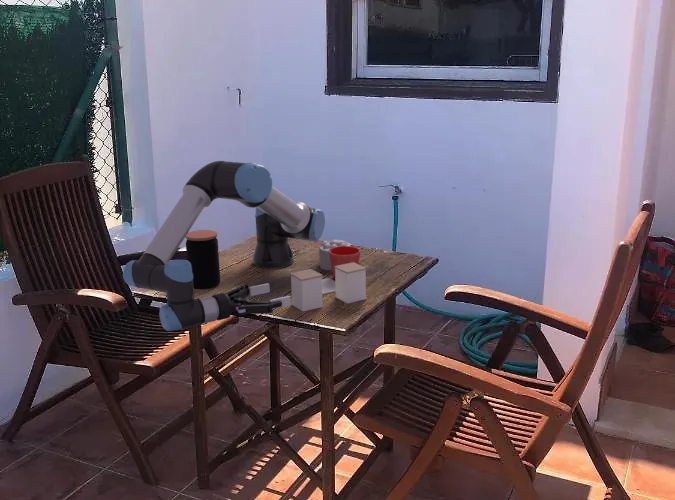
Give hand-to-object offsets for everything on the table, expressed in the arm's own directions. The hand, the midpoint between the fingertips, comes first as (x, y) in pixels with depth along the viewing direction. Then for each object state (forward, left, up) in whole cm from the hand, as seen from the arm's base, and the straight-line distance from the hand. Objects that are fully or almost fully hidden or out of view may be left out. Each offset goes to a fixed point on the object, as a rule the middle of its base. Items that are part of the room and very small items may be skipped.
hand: (279, 293), depth 221 cm
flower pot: (-17, +35, -6) cm, 39 cm away
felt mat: (-12, +23, -6) cm, 26 cm away
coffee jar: (-37, -9, -6) cm, 39 cm away
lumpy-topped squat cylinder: (-31, +39, -6) cm, 50 cm away
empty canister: (+2, +25, -6) cm, 25 cm away
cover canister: (0, +10, -6) cm, 11 cm away
